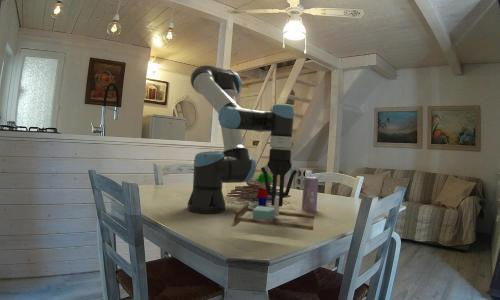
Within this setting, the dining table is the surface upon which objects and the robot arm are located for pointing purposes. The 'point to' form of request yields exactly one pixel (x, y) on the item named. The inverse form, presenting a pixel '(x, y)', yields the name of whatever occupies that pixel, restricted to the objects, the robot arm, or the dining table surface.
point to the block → (263, 213)
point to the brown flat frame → (301, 222)
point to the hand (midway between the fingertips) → (276, 215)
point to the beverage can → (310, 193)
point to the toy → (262, 189)
